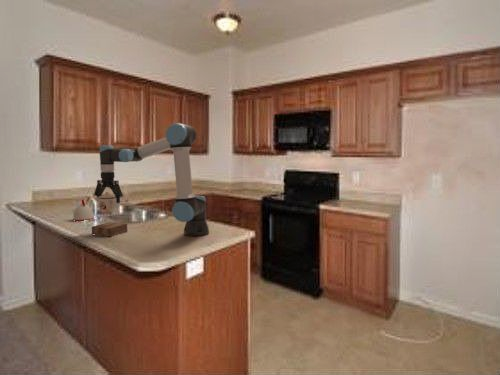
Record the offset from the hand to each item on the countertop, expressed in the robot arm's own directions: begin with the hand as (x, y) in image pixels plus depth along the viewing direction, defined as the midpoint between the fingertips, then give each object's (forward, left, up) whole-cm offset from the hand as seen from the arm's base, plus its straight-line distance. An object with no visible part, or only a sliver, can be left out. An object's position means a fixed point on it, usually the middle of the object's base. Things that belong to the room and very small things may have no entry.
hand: (108, 207), depth 199 cm
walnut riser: (0, 0, -16) cm, 16 cm away
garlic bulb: (+47, -26, -16) cm, 56 cm away
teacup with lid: (0, 0, -2) cm, 2 cm away
